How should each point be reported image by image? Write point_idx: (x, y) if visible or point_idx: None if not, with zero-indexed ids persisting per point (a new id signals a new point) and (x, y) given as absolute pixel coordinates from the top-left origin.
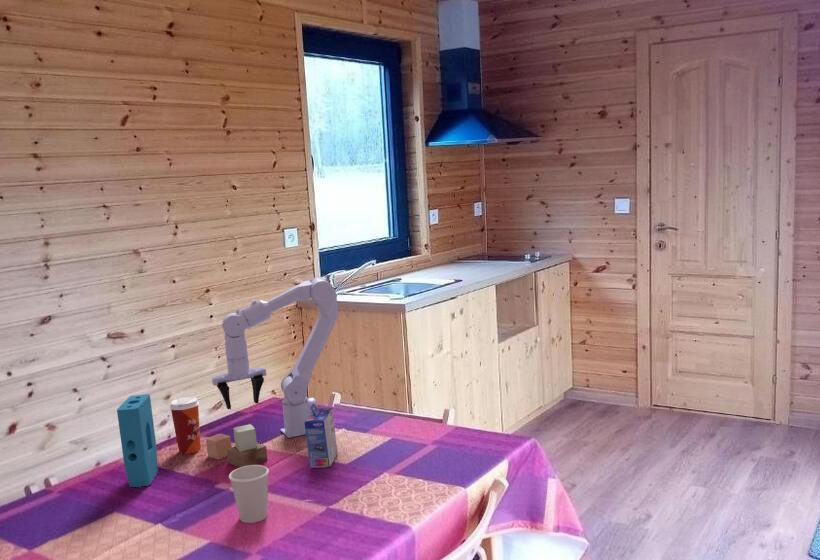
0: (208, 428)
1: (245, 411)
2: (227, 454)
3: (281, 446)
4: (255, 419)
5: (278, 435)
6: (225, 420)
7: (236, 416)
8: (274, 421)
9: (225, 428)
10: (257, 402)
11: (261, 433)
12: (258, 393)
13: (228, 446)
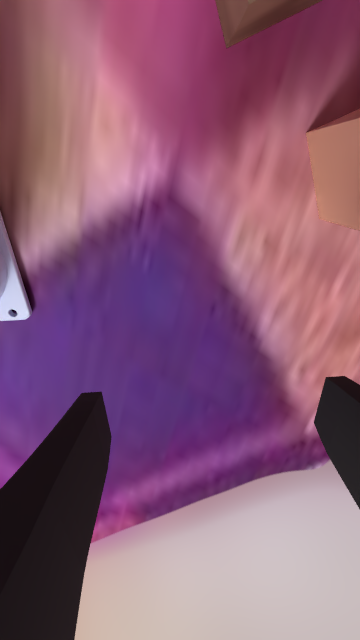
0: (261, 460)
1: (129, 522)
2: (339, 118)
3: (40, 66)
4: (113, 463)
5: (46, 266)
6: (198, 491)
7: (161, 503)
8: (51, 421)
9: (218, 439)
10: (85, 397)
11: (116, 332)
12: (29, 471)
13: (352, 116)
